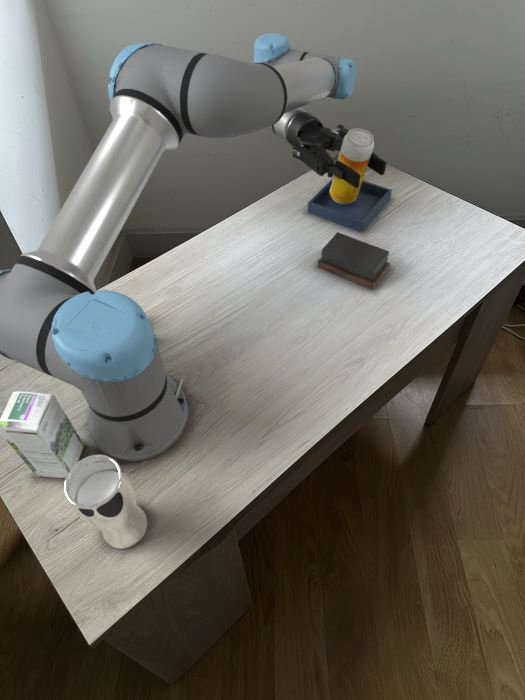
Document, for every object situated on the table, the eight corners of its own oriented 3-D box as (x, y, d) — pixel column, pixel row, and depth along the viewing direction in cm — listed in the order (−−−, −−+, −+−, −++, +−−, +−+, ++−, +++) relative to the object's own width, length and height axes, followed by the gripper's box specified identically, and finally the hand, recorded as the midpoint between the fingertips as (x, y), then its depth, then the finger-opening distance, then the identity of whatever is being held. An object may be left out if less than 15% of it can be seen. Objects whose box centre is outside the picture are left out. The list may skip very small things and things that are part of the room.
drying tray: (307, 212, 113) (308, 202, 111) (337, 182, 119) (338, 171, 117) (362, 232, 108) (363, 222, 106) (390, 199, 114) (392, 189, 112)
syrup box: (49, 442, 80) (10, 389, 68) (86, 445, 79) (53, 392, 68) (36, 476, 76) (-9, 427, 65) (74, 480, 76) (36, 430, 64)
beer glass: (130, 492, 74) (100, 441, 62) (161, 525, 71) (135, 478, 59) (89, 527, 71) (50, 481, 60) (119, 563, 68) (84, 522, 56)
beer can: (354, 209, 111) (373, 150, 99) (326, 202, 112) (342, 142, 99) (358, 190, 115) (377, 131, 102) (331, 184, 115) (347, 123, 102)
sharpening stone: (317, 267, 102) (318, 249, 98) (334, 247, 105) (336, 229, 102) (372, 290, 97) (375, 272, 94) (389, 268, 101) (392, 250, 97)
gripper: (331, 130, 121) (402, 174, 109) (264, 159, 114) (333, 209, 102) (333, 97, 115) (409, 140, 103) (263, 126, 109) (335, 176, 96)
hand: (371, 175), depth 103 cm, fingers closed on beer can, 6 cm apart
